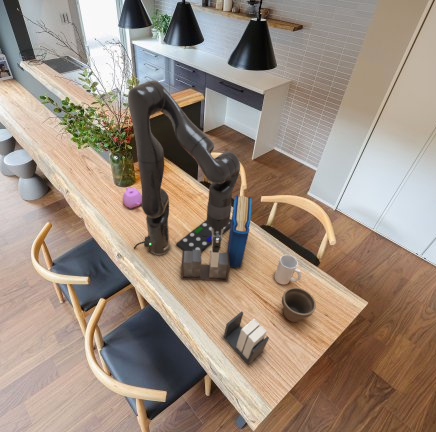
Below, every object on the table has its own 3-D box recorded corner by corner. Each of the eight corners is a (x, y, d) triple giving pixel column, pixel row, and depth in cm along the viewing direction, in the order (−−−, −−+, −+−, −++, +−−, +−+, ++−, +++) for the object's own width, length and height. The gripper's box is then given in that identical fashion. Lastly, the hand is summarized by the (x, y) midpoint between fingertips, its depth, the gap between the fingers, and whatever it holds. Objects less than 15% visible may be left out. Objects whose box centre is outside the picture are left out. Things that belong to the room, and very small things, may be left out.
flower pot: (302, 300, 122) (309, 286, 115) (312, 327, 113) (320, 314, 106) (273, 301, 122) (279, 287, 114) (281, 328, 113) (288, 315, 106)
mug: (270, 278, 129) (276, 260, 121) (279, 269, 132) (286, 251, 124) (291, 293, 124) (299, 276, 115) (300, 283, 127) (308, 266, 119)
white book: (210, 266, 114) (212, 242, 104) (211, 254, 118) (212, 229, 108) (217, 267, 114) (220, 242, 104) (217, 254, 118) (220, 230, 108)
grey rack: (181, 279, 130) (181, 262, 121) (182, 264, 135) (182, 247, 127) (227, 281, 128) (230, 264, 120) (226, 266, 134) (229, 249, 125)
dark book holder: (223, 337, 111) (227, 318, 101) (238, 325, 115) (243, 305, 104) (248, 364, 104) (255, 347, 94) (263, 351, 108) (271, 332, 97)
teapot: (137, 193, 170) (135, 180, 164) (148, 209, 161) (147, 195, 154) (119, 199, 167) (117, 186, 160) (130, 216, 157) (128, 202, 151)
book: (241, 271, 132) (250, 232, 114) (225, 268, 133) (231, 229, 115) (243, 234, 147) (252, 195, 129) (229, 232, 148) (235, 193, 130)
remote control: (234, 224, 152) (235, 221, 151) (193, 258, 137) (194, 255, 136) (217, 213, 158) (217, 210, 157) (176, 245, 143) (176, 242, 141)
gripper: (207, 195, 103) (206, 229, 115) (206, 225, 93) (204, 259, 104) (230, 196, 102) (226, 230, 114) (231, 227, 92) (226, 261, 104)
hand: (215, 244), depth 109 cm, fingers closed on white book, 6 cm apart
